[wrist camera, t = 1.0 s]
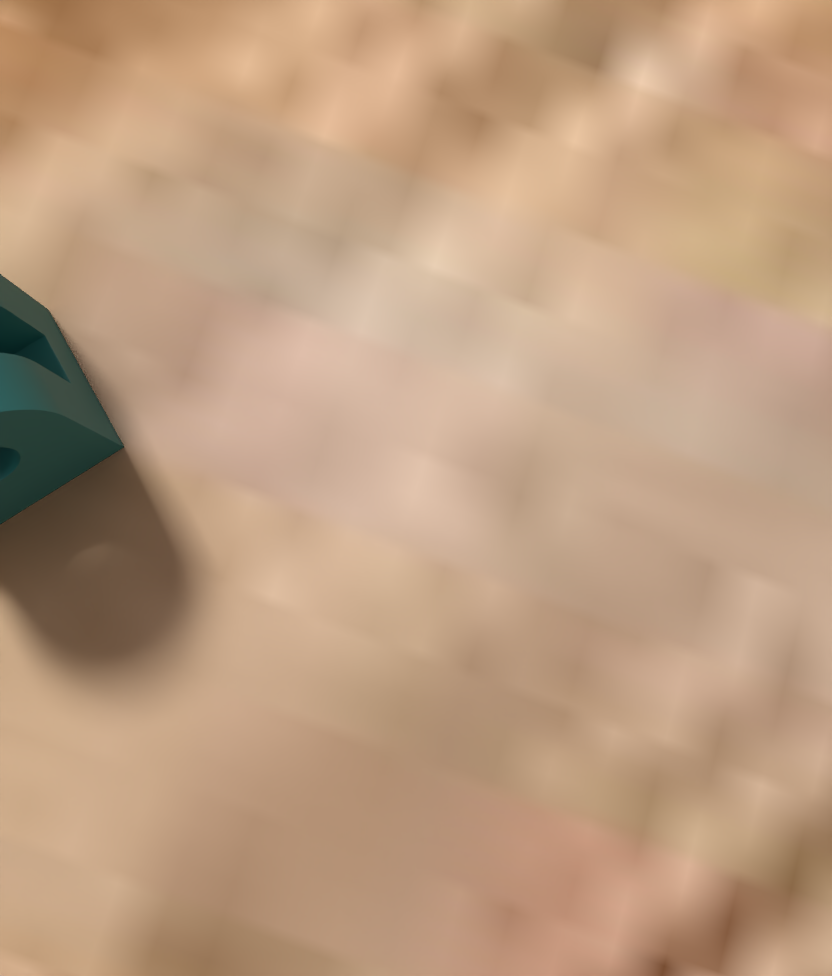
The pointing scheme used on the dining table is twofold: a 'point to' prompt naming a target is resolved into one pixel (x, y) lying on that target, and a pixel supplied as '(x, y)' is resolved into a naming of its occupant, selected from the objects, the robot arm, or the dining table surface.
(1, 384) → the bracket
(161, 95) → the dining table surface
